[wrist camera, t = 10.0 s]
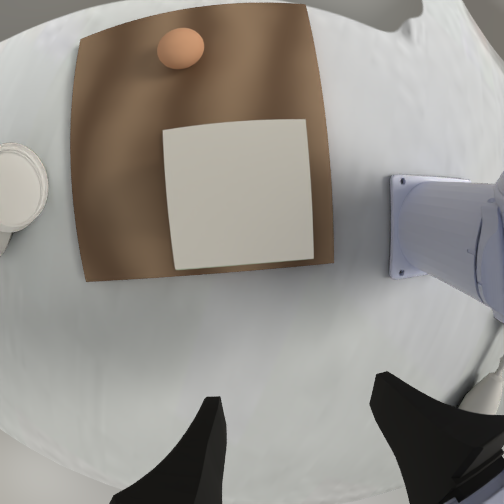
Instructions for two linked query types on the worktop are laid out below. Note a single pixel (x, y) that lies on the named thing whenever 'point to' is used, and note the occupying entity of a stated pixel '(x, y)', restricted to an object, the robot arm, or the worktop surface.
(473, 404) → the chalice
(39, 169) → the spread jar
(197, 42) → the terracotta ball
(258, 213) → the rounded beige cube
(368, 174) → the worktop surface
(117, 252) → the walnut board
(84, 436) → the worktop surface
